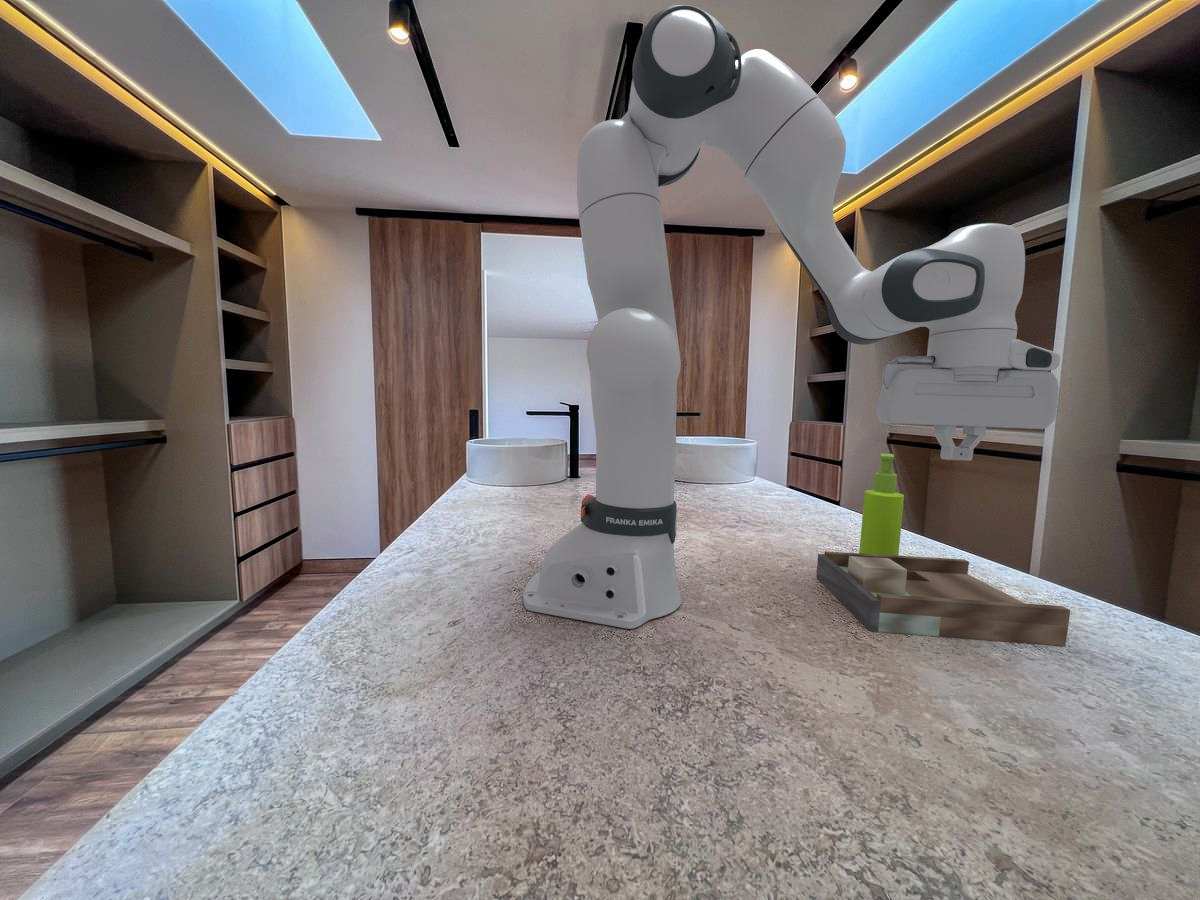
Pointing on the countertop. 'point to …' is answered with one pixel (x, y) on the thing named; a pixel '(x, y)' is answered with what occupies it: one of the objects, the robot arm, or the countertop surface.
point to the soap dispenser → (882, 512)
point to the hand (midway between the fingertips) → (955, 459)
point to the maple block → (878, 574)
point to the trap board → (942, 603)
